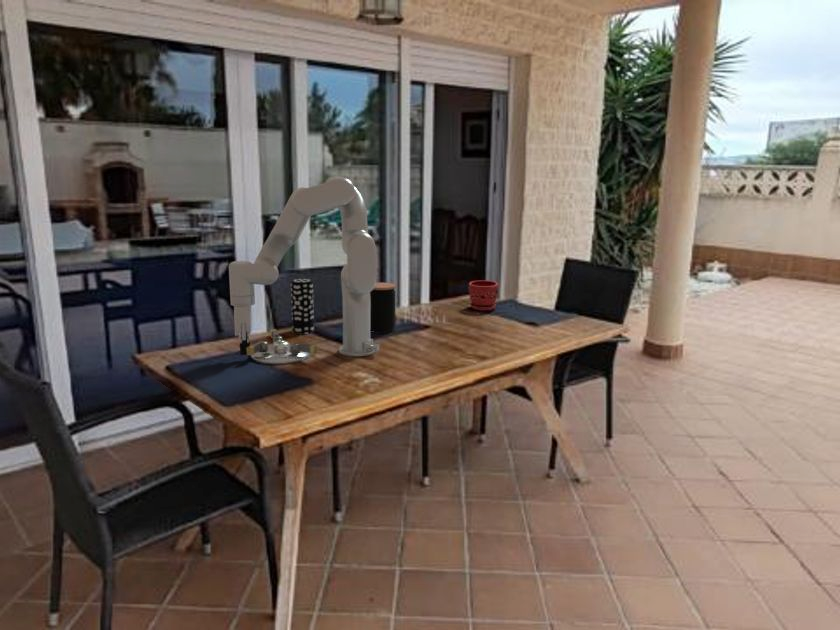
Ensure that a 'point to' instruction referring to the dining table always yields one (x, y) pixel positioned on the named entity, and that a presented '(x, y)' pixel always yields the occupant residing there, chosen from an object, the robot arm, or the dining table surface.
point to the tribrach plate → (279, 354)
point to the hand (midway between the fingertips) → (245, 353)
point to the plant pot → (483, 294)
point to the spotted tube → (302, 306)
